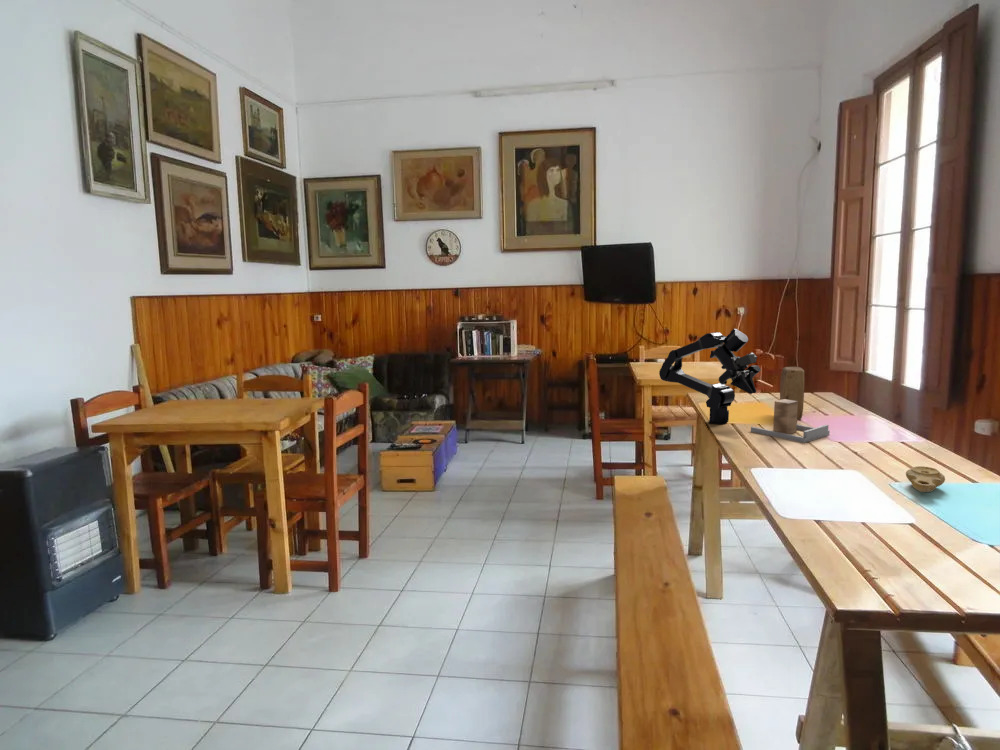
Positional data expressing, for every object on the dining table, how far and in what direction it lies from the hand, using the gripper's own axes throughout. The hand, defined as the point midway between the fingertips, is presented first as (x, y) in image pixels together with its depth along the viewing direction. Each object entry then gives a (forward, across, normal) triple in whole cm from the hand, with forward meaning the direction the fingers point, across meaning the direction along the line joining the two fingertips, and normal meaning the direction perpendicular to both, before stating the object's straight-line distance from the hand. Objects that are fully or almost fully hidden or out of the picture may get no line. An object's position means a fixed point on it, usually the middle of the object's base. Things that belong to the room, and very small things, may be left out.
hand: (753, 393), depth 228 cm
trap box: (+20, 0, 0) cm, 20 cm away
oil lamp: (+56, -22, -36) cm, 70 cm away
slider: (+17, 0, 0) cm, 17 cm away
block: (+9, +28, +11) cm, 31 cm away
